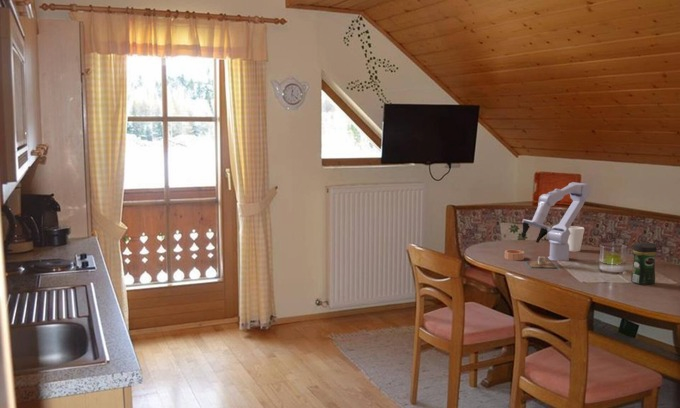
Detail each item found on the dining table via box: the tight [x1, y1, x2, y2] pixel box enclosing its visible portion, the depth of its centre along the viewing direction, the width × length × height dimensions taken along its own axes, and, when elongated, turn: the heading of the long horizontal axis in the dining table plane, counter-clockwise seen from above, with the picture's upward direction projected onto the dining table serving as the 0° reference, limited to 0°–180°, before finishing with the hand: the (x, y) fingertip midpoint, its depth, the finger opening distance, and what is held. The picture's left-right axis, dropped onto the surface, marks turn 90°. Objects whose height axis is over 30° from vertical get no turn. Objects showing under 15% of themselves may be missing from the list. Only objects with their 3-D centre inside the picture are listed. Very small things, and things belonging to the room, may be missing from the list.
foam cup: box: [567, 225, 585, 253], centre depth 354 cm, size 10×9×13 cm
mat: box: [521, 260, 562, 271], centre depth 316 cm, size 16×16×1 cm
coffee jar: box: [630, 242, 658, 286], centre depth 286 cm, size 10×8×19 cm
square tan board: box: [526, 255, 557, 269], centre depth 316 cm, size 12×12×4 cm
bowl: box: [504, 249, 525, 261], centre depth 332 cm, size 10×10×4 cm
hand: (529, 239), depth 319 cm, fingers open, 7 cm apart
